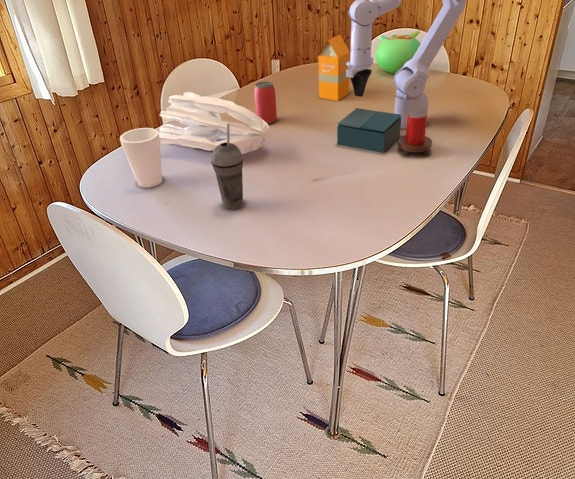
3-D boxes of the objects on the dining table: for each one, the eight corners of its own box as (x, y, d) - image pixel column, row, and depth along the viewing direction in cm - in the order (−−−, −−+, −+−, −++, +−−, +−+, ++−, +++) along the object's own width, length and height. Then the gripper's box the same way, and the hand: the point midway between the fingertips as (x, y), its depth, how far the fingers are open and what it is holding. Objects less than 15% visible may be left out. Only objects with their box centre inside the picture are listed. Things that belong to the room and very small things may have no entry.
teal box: (337, 145, 142) (337, 123, 138) (355, 129, 151) (356, 107, 147) (383, 154, 136) (384, 131, 132) (399, 136, 145) (401, 114, 141)
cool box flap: (337, 124, 138) (337, 123, 138) (356, 109, 147) (356, 107, 147) (360, 128, 135) (360, 127, 135) (378, 112, 144) (378, 111, 144)
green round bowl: (374, 78, 190) (376, 38, 182) (375, 66, 204) (377, 28, 195) (422, 78, 187) (426, 37, 179) (420, 65, 201) (423, 27, 193)
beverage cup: (218, 198, 121) (206, 119, 109) (248, 195, 121) (239, 117, 109) (217, 214, 115) (204, 132, 103) (248, 211, 115) (239, 129, 103)
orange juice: (349, 93, 178) (350, 34, 167) (338, 100, 172) (338, 40, 161) (330, 90, 182) (330, 32, 171) (318, 97, 176) (317, 38, 165)
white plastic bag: (284, 110, 141) (185, 94, 155) (253, 93, 124) (146, 77, 138) (271, 169, 142) (174, 148, 156) (239, 160, 126) (135, 137, 140)
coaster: (413, 143, 141) (414, 131, 139) (437, 153, 134) (439, 141, 132) (390, 152, 137) (391, 140, 135) (414, 163, 130) (415, 150, 128)
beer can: (274, 125, 157) (272, 87, 150) (254, 124, 158) (251, 87, 151) (279, 117, 162) (276, 80, 155) (259, 117, 164) (256, 80, 157)
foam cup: (136, 194, 125) (124, 146, 117) (128, 179, 131) (116, 133, 124) (172, 184, 128) (163, 137, 120) (163, 170, 135) (153, 125, 127)
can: (419, 136, 136) (421, 109, 132) (427, 143, 132) (430, 116, 128) (402, 138, 135) (404, 112, 131) (410, 146, 131) (413, 118, 127)
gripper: (358, 40, 144) (356, 86, 152) (336, 52, 134) (335, 101, 142) (381, 42, 141) (378, 89, 149) (360, 55, 131) (358, 105, 139)
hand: (359, 95), depth 145 cm, fingers closed
